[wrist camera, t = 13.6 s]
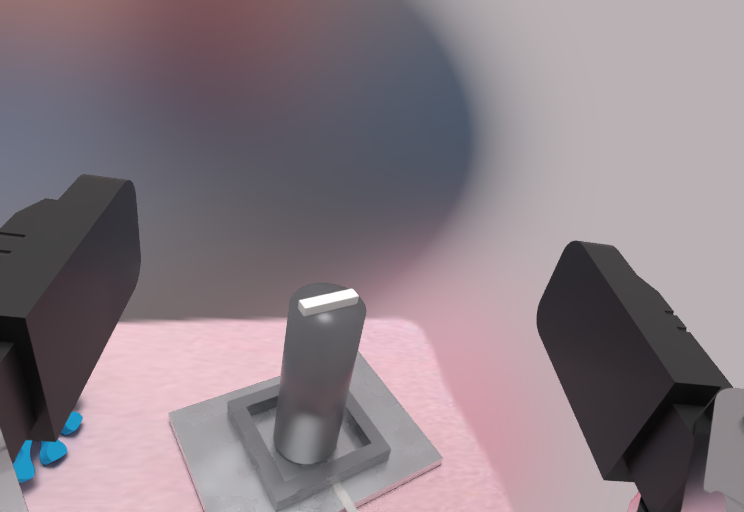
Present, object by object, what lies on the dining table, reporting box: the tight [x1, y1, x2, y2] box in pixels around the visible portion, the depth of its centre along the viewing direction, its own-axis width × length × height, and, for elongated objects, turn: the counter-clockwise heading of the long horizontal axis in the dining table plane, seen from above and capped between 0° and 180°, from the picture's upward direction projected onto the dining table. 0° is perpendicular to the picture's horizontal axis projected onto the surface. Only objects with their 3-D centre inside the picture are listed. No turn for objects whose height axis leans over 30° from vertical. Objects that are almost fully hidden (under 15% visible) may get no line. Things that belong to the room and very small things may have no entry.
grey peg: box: [273, 283, 366, 464], centre depth 35 cm, size 5×5×13 cm
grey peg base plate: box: [169, 351, 443, 512], centre depth 38 cm, size 16×13×2 cm
